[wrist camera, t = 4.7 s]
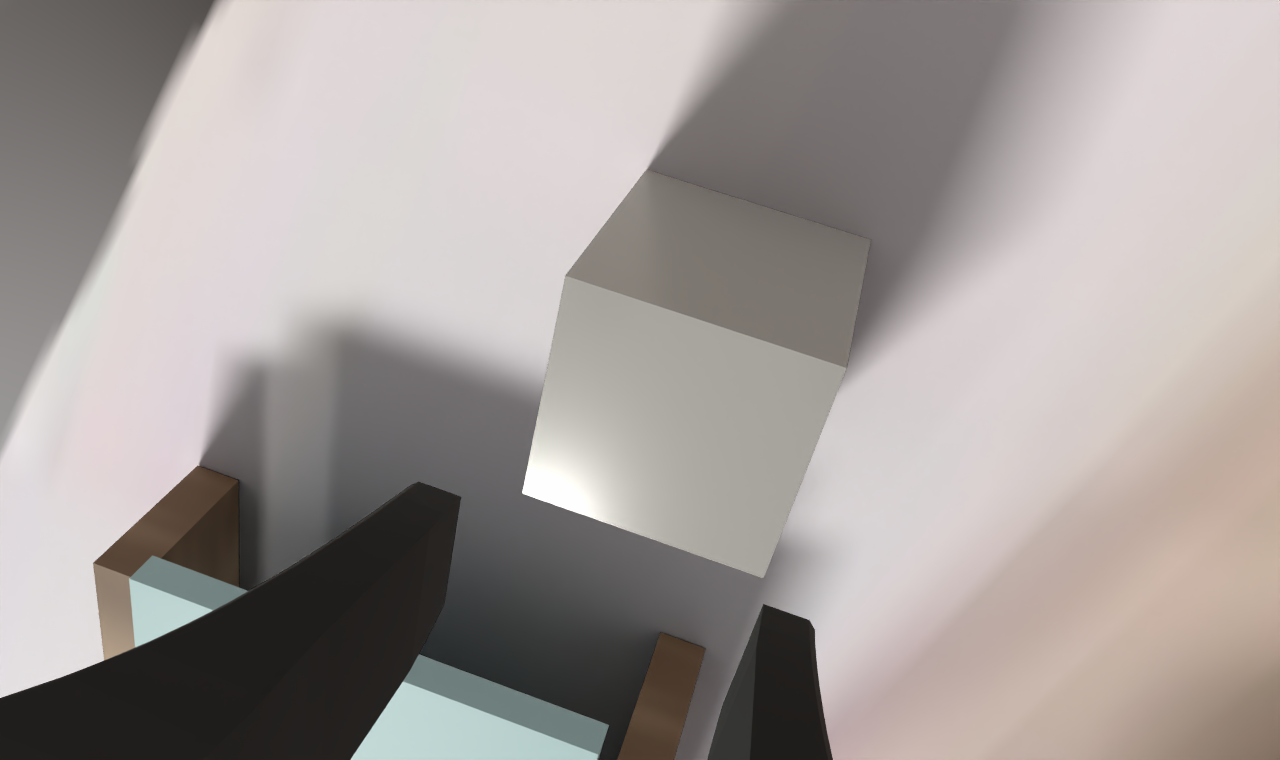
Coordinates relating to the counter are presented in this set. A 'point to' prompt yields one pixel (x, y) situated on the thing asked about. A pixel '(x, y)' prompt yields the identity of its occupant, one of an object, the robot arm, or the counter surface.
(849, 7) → the counter surface
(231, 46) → the counter surface
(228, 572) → the frame
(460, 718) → the trapdoor
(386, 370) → the counter surface
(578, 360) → the grey block
